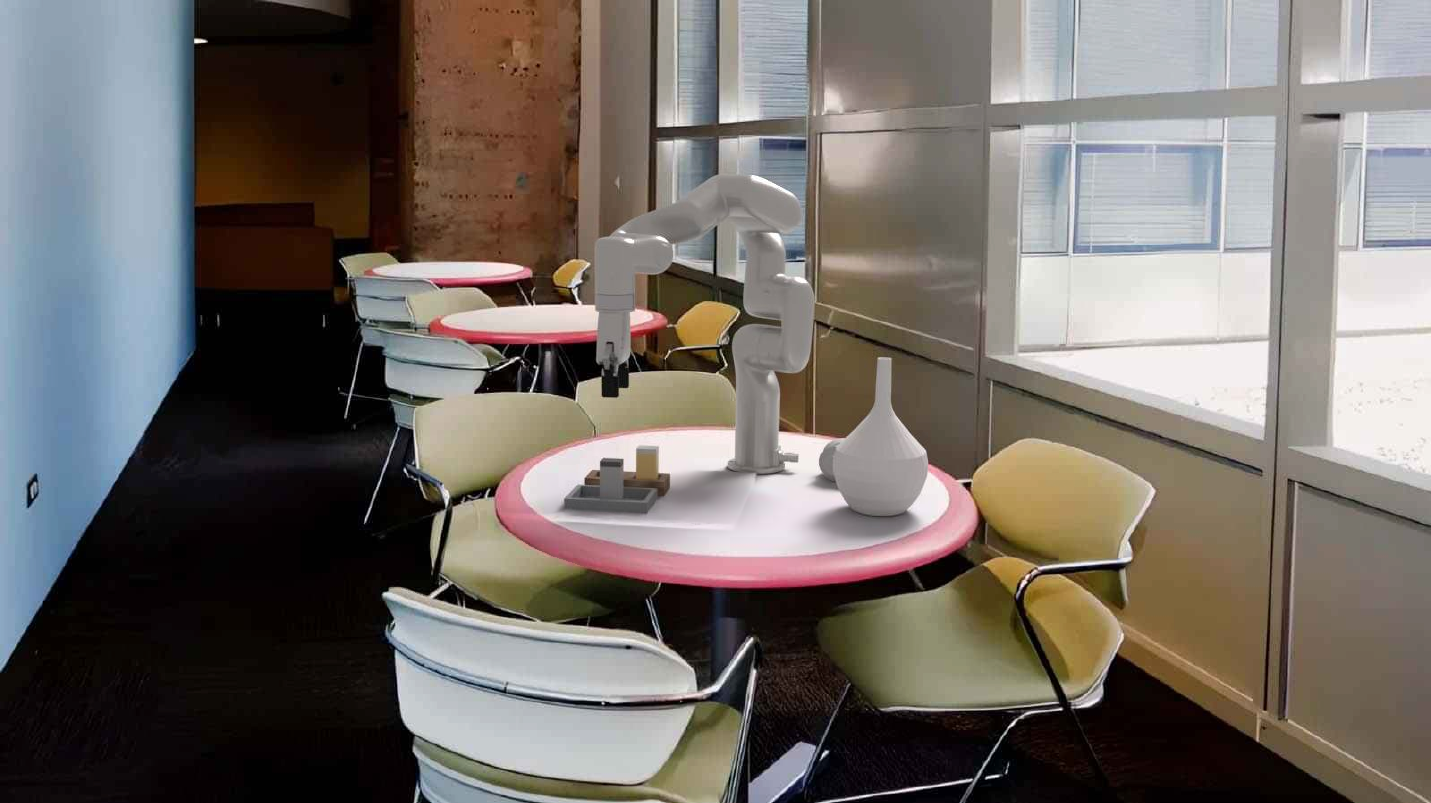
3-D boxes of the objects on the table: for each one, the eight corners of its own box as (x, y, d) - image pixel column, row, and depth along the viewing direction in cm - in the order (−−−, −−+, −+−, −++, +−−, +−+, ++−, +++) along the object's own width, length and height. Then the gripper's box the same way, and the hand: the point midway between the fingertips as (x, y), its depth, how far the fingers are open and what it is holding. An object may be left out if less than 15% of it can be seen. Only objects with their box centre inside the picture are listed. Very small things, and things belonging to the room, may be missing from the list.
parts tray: (657, 503, 258) (657, 488, 257) (647, 518, 247) (647, 502, 246) (577, 499, 260) (577, 484, 259) (564, 513, 249) (564, 498, 248)
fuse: (658, 489, 264) (658, 446, 262) (655, 493, 261) (656, 449, 259) (638, 488, 264) (639, 445, 263) (635, 492, 261) (636, 448, 260)
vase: (832, 521, 247) (838, 364, 242) (829, 496, 265) (834, 350, 260) (931, 524, 246) (938, 367, 241) (921, 499, 264) (927, 352, 259)
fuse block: (669, 492, 266) (669, 473, 265) (663, 501, 259) (664, 481, 258) (592, 488, 268) (592, 469, 267) (584, 497, 261) (584, 477, 260)
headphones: (811, 483, 273) (907, 502, 270) (818, 447, 272) (914, 466, 268) (822, 463, 291) (912, 481, 288) (828, 429, 290) (919, 447, 286)
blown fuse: (623, 503, 254) (623, 458, 253) (620, 508, 251) (620, 462, 250) (603, 503, 255) (603, 457, 253) (599, 507, 252) (599, 461, 250)
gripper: (605, 297, 256) (605, 383, 259) (585, 308, 239) (586, 400, 243) (643, 298, 255) (643, 385, 258) (625, 309, 238) (626, 401, 242)
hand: (615, 392), depth 250 cm, fingers open, 9 cm apart
